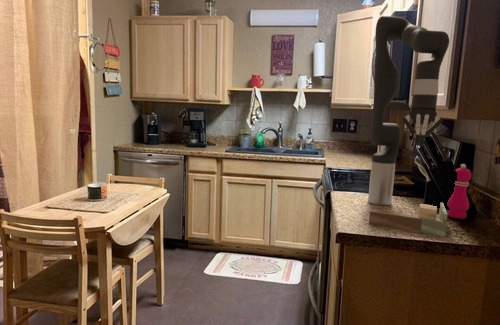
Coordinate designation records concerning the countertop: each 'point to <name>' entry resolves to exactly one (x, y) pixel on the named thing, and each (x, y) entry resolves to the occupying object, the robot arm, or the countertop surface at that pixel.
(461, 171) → the pepper mill
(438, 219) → the box
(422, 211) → the maple block
